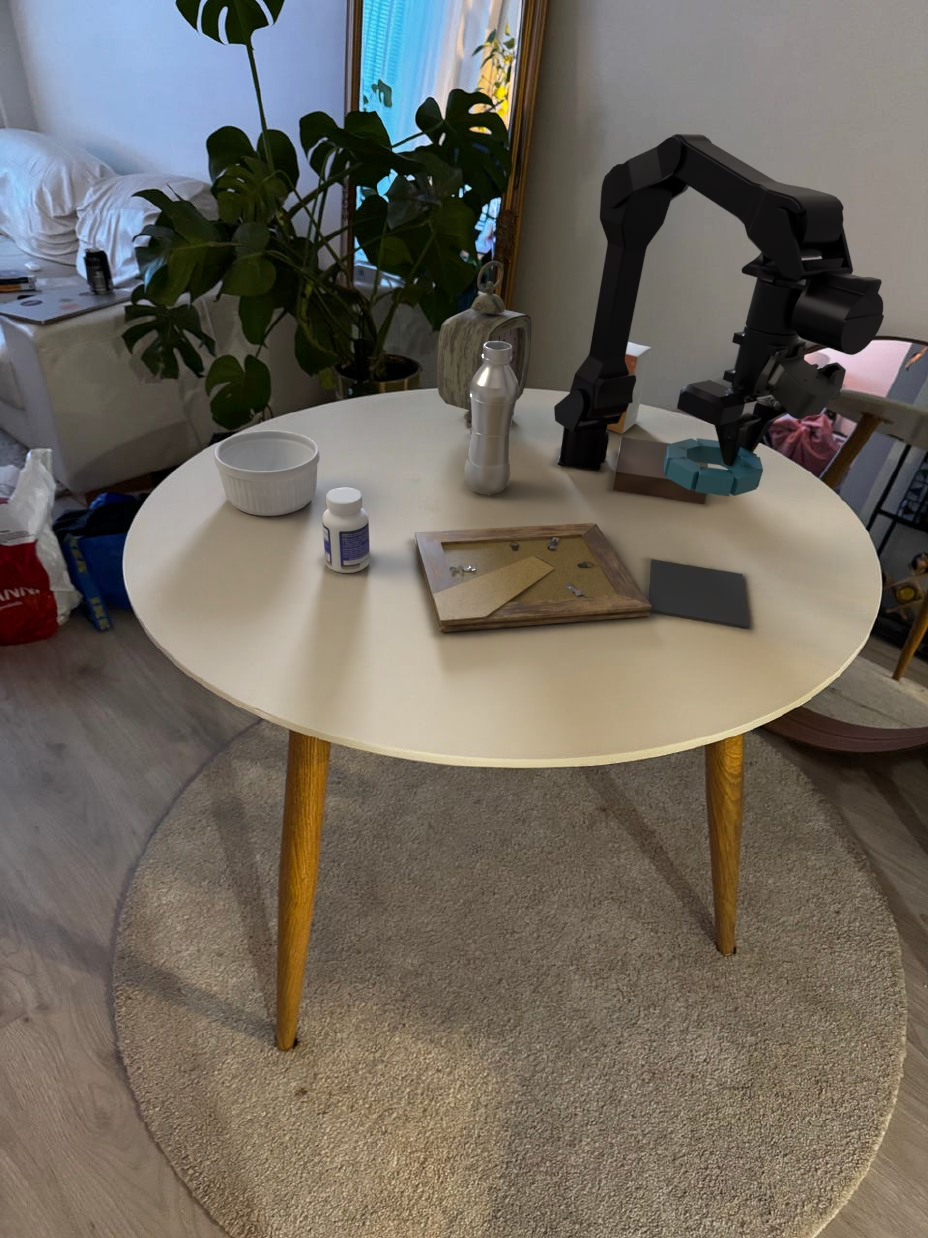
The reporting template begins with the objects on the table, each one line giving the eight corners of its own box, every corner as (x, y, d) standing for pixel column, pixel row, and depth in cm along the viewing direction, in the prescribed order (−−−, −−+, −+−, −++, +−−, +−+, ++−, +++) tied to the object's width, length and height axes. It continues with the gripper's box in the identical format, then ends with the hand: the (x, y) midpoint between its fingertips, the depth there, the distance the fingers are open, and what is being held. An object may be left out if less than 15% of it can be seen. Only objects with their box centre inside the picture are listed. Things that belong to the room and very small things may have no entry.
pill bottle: (377, 556, 91) (375, 489, 86) (358, 578, 87) (355, 510, 82) (337, 546, 92) (333, 480, 87) (317, 568, 88) (312, 500, 83)
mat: (648, 611, 85) (648, 608, 85) (650, 561, 94) (651, 558, 93) (748, 629, 83) (749, 626, 83) (741, 576, 92) (742, 573, 92)
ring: (663, 487, 85) (667, 469, 84) (663, 451, 93) (667, 434, 92) (761, 500, 83) (766, 482, 82) (752, 462, 92) (757, 445, 90)
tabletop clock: (478, 444, 119) (490, 274, 104) (431, 429, 123) (436, 263, 108) (523, 417, 129) (539, 258, 114) (478, 404, 133) (489, 249, 118)
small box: (578, 422, 129) (590, 344, 121) (593, 411, 133) (606, 335, 125) (623, 434, 125) (638, 355, 118) (636, 423, 130) (652, 346, 122)
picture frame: (439, 634, 80) (649, 617, 84) (440, 620, 79) (652, 604, 83) (414, 542, 94) (594, 532, 99) (414, 530, 93) (596, 520, 98)
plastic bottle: (456, 493, 105) (464, 348, 93) (473, 474, 110) (483, 334, 98) (499, 504, 104) (513, 357, 92) (515, 484, 109) (530, 342, 97)
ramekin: (298, 468, 109) (294, 422, 105) (338, 507, 100) (336, 459, 96) (207, 487, 103) (199, 439, 99) (242, 531, 94) (234, 480, 90)
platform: (612, 490, 109) (615, 471, 107) (617, 454, 119) (621, 436, 117) (704, 504, 107) (709, 485, 105) (701, 466, 117) (706, 448, 115)
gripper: (777, 360, 71) (734, 508, 80) (892, 337, 80) (841, 473, 89) (690, 329, 78) (660, 468, 88) (803, 311, 87) (765, 439, 96)
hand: (734, 463), depth 90 cm, fingers closed on ring, 2 cm apart
